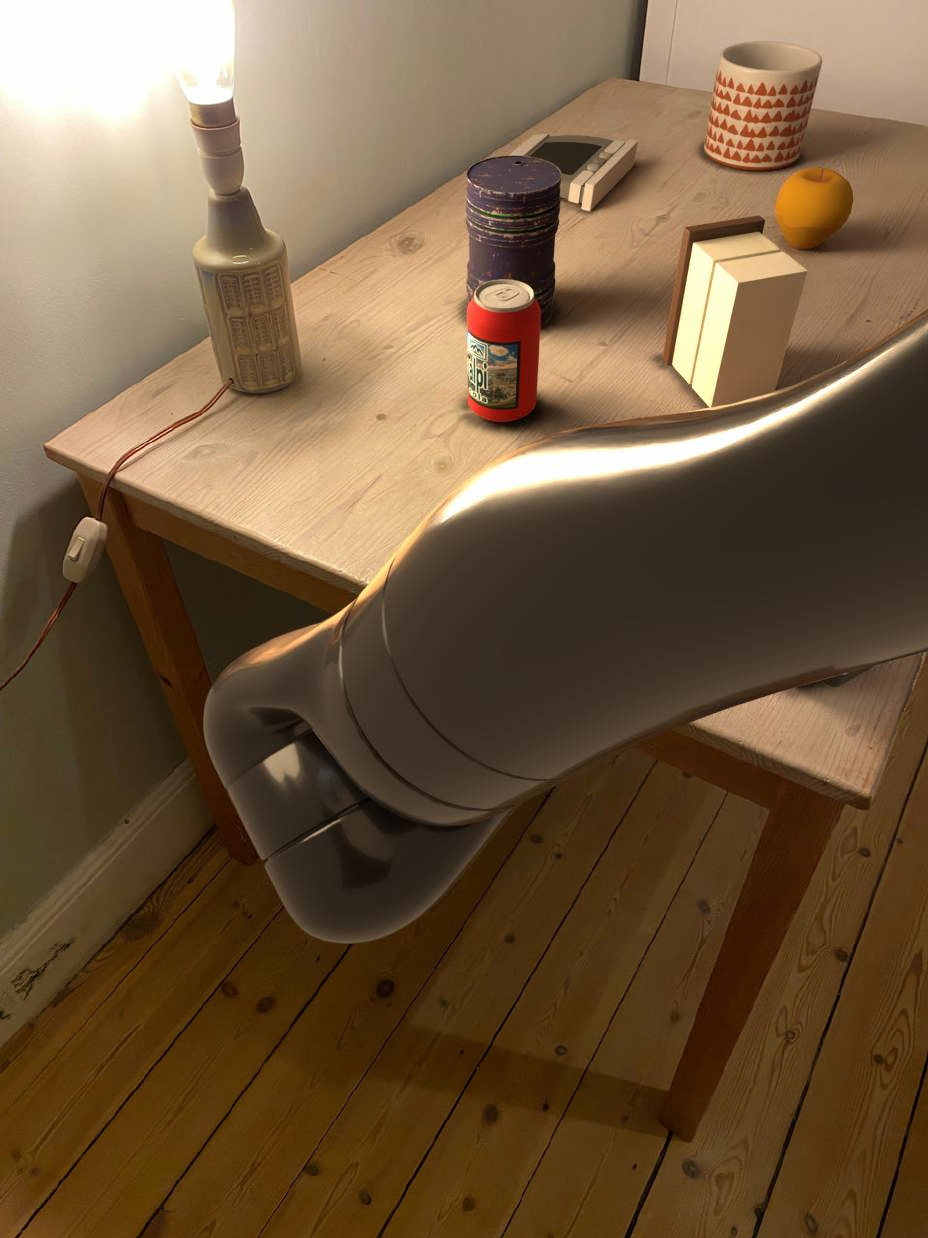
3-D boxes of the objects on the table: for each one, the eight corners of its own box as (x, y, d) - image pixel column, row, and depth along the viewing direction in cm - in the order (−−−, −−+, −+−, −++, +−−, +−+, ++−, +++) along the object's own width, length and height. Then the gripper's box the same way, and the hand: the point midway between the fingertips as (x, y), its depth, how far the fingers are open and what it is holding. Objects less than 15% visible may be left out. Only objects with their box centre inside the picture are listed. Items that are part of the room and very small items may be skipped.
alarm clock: (594, 185, 118) (481, 154, 122) (588, 220, 122) (479, 189, 126) (638, 140, 129) (533, 113, 133) (631, 174, 132) (529, 146, 136)
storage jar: (547, 337, 99) (555, 197, 88) (458, 328, 100) (456, 189, 90) (559, 293, 106) (568, 157, 95) (475, 286, 107) (475, 151, 96)
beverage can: (453, 407, 90) (450, 293, 81) (501, 381, 93) (503, 268, 84) (502, 436, 87) (504, 320, 78) (550, 407, 90) (557, 293, 81)
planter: (739, 129, 140) (757, 34, 131) (817, 153, 133) (842, 54, 124) (684, 153, 134) (699, 55, 125) (763, 180, 127) (785, 78, 118)
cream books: (778, 395, 91) (816, 258, 81) (706, 409, 89) (735, 272, 79) (729, 346, 97) (759, 214, 87) (661, 359, 96) (683, 226, 85)
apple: (853, 258, 111) (877, 181, 104) (783, 264, 110) (802, 187, 103) (822, 226, 117) (842, 152, 110) (755, 231, 116) (772, 157, 109)
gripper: (816, 658, 34) (995, 543, 44) (557, 472, 42) (757, 408, 51) (744, 785, 39) (919, 657, 49) (522, 598, 46) (711, 518, 56)
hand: (836, 529), depth 50 cm, fingers open, 8 cm apart
